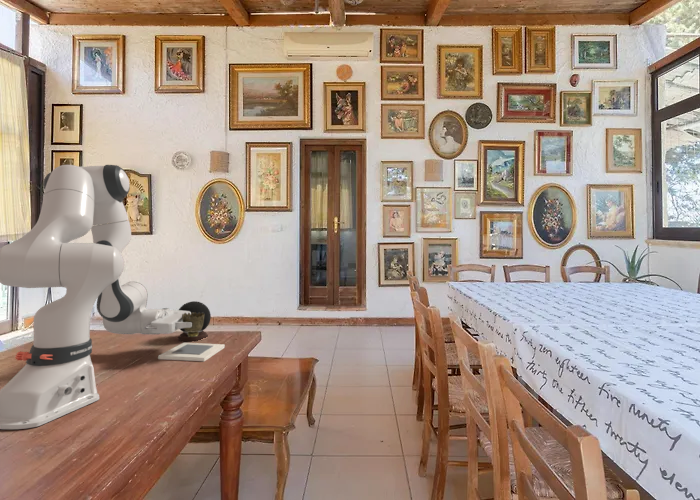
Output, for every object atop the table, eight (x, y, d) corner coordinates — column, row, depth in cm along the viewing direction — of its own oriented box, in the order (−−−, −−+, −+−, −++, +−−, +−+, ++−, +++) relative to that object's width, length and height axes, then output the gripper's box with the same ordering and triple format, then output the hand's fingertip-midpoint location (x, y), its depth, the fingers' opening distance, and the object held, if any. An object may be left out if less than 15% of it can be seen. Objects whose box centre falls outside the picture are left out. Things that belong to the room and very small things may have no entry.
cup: (204, 338, 129) (204, 315, 129) (181, 339, 126) (181, 316, 126) (204, 332, 136) (204, 311, 136) (182, 334, 133) (182, 312, 133)
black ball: (175, 335, 154) (175, 299, 154) (209, 332, 159) (209, 298, 159) (175, 343, 142) (175, 305, 142) (211, 340, 148) (212, 303, 147)
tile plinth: (204, 361, 122) (204, 356, 122) (158, 359, 124) (158, 354, 124) (224, 347, 138) (224, 343, 138) (183, 345, 140) (183, 341, 140)
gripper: (141, 319, 119) (185, 319, 121) (166, 307, 140) (204, 307, 141) (141, 338, 119) (185, 338, 121) (166, 323, 140) (204, 324, 141)
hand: (195, 321), depth 131 cm, fingers closed on cup, 7 cm apart
